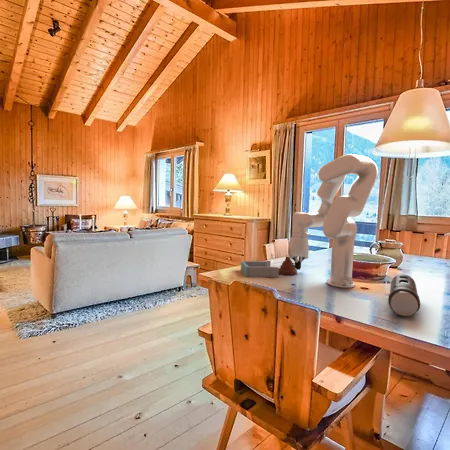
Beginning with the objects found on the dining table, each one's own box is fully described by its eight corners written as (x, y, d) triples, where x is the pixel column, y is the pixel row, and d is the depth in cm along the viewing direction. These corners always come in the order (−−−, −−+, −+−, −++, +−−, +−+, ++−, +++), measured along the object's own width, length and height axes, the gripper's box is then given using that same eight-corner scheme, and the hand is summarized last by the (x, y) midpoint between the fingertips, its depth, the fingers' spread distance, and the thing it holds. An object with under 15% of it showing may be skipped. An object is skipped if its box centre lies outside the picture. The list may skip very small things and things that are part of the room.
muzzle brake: (415, 300, 128) (417, 275, 127) (419, 323, 103) (421, 292, 103) (389, 296, 132) (390, 272, 132) (386, 317, 108) (389, 288, 107)
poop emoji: (277, 274, 164) (278, 257, 164) (278, 271, 173) (279, 254, 172) (296, 276, 162) (297, 258, 161) (297, 272, 170) (297, 255, 169)
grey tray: (279, 277, 158) (279, 267, 158) (246, 277, 156) (246, 267, 156) (269, 269, 176) (269, 260, 176) (240, 269, 174) (240, 260, 174)
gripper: (310, 234, 171) (308, 267, 173) (283, 234, 170) (282, 267, 171) (315, 236, 164) (313, 270, 166) (287, 236, 162) (286, 270, 164)
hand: (297, 269), depth 169 cm, fingers closed
